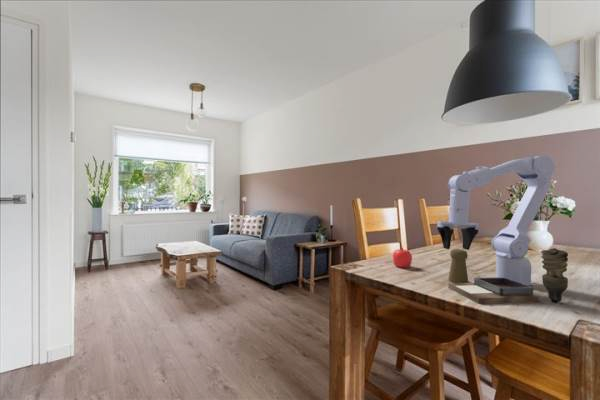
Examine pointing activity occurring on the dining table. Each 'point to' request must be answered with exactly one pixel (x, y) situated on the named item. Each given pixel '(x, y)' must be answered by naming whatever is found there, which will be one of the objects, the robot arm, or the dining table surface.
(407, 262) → the apple
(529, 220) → the robot arm
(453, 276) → the cork
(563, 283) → the light bulb
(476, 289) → the mat
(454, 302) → the dining table surface
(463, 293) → the walnut board
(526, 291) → the dark grey tray
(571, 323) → the dining table surface
